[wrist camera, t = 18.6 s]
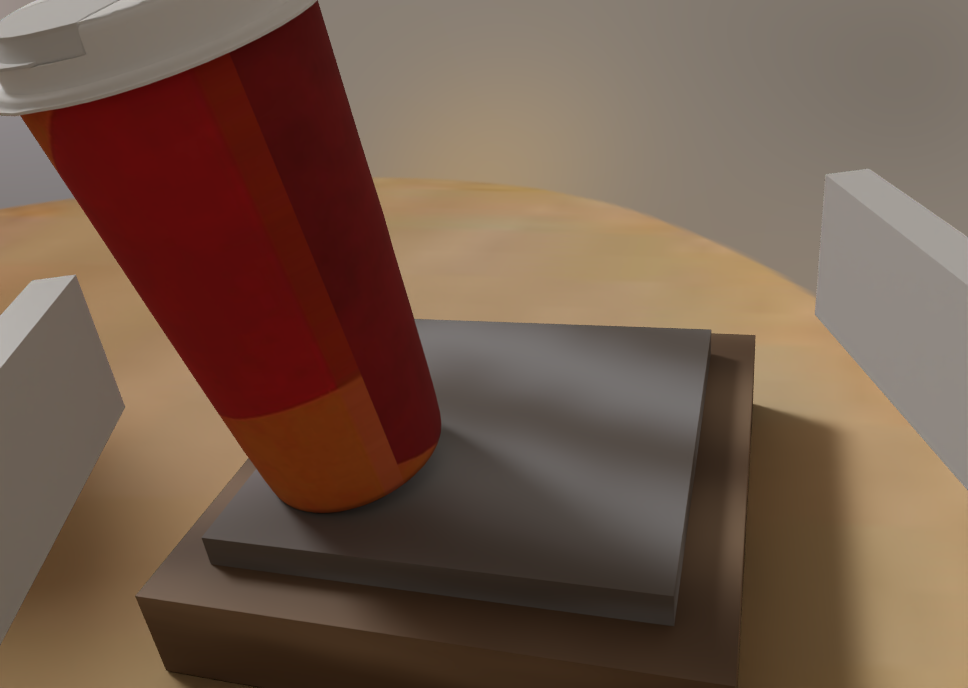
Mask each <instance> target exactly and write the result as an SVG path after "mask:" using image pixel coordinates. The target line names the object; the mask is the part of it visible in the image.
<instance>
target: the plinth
mask: <svg viewBox="0 0 968 688" xmlns="http://www.w3.org/2000/svg"><path fill="white" fill-rule="evenodd" d="M414 320H415V323H416V327H417V330H418V334H419V337H420V340H421V344H422V347H423V351H424V354H425V357H426V361H427V364H428V368H429V371H430V375H431V379H432V382H433V386H434V390H435V393H436V397H437V401H438V406H439V410H440V415H441V434H440V438H439V441H438V444H437V446H436V448H435V450H434V452H433V454H432V455H431V457H430V458H429V460H428V461H427V462H426V464H425V465H424V466H423V467H422V468H421V469H420V470H419V471H418V472H417V473H416V474H415V475H414V476H413V477H412V478H411V479H410V480H408V481H407V482H406V483H405V484H403V485H402V486H400V487H399V488H398V489H396V490H394V491H393V492H391V493H390V494H388V495H386V496H384V497H382V498H380V499H378V500H376V501H374V502H371V503H369V504H366V505H364V506H360V507H357V508H354V509H350V510H345V511H340V512H332V513H313V512H306V511H302V510H298V509H295V508H293V507H291V506H289V505H287V504H286V503H284V502H283V501H282V500H281V499H280V498H279V497H278V496H277V495H276V494H275V493H274V492H273V491H272V489H271V488H270V487H269V485H268V484H267V483H266V482H265V480H264V479H263V478H262V476H261V475H260V473H259V472H258V470H257V469H256V468H255V466H254V465H253V463H252V462H251V460H250V459H249V458H248V459H247V461H246V462H245V463H244V464H243V466H242V467H241V468H240V469H239V470H238V472H237V473H236V474H235V475H234V476H233V478H232V479H231V480H230V481H229V483H228V484H227V485H226V486H225V487H224V489H223V490H222V491H221V492H220V494H219V495H218V496H217V497H216V498H215V500H214V501H213V502H212V503H211V504H210V506H209V507H208V508H207V509H206V511H205V512H204V513H203V514H202V515H201V517H200V518H199V519H198V520H197V521H196V523H195V524H194V525H193V526H192V528H191V529H190V530H189V531H188V532H187V534H186V535H185V536H184V537H183V539H182V540H181V541H180V542H179V543H178V545H177V546H176V547H175V548H174V549H173V551H172V552H171V553H170V554H169V556H168V557H167V558H166V559H165V560H164V562H163V563H162V564H161V565H160V566H159V568H158V569H157V570H156V571H155V573H154V574H153V575H152V576H151V577H150V579H149V580H148V581H147V582H146V584H145V585H144V586H143V587H142V588H141V590H140V591H139V592H138V593H137V594H136V596H135V597H136V599H137V601H138V604H139V606H140V609H141V611H142V613H143V616H144V618H145V621H146V623H147V625H148V628H149V630H150V632H151V635H152V637H153V640H154V642H155V644H156V647H157V649H158V652H159V654H160V656H161V659H162V661H163V664H164V666H165V668H166V671H172V672H177V673H183V674H188V675H194V676H200V677H205V678H211V679H216V680H222V681H228V682H233V683H239V684H244V685H250V686H256V687H261V688H737V683H738V665H739V647H740V628H741V610H742V592H743V573H744V555H745V537H746V518H747V500H748V482H749V463H750V445H751V427H752V409H753V385H754V360H755V335H738V334H711V330H706V329H678V328H650V327H622V326H594V325H566V324H538V323H510V322H482V321H454V320H426V319H414Z"/></svg>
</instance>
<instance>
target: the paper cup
mask: <svg viewBox="0 0 968 688" xmlns="http://www.w3.org/2000/svg"><path fill="white" fill-rule="evenodd" d="M0 115H1V116H19V115H20V116H21V117H22V119H23V121H24V122H25V123H26V125H27V127H28V128H29V130H30V131H31V133H32V134H33V136H34V137H35V139H36V140H37V141H38V143H39V144H40V146H41V147H42V149H43V151H44V152H45V154H46V155H47V157H48V158H49V160H50V161H51V163H52V164H53V166H54V167H55V169H56V170H57V172H58V173H59V175H60V176H61V178H62V179H63V181H64V182H65V184H66V185H67V187H68V188H69V190H70V191H71V193H72V194H73V196H74V197H75V199H76V200H77V202H78V203H79V205H80V206H81V208H82V209H83V211H84V212H85V214H86V215H87V217H88V218H89V220H90V221H91V223H92V224H93V226H94V227H95V229H96V230H97V232H98V233H99V235H100V236H101V238H102V239H103V241H104V242H105V244H106V245H107V247H108V248H109V250H110V252H111V253H112V255H113V256H114V258H115V259H116V261H117V262H118V264H119V265H120V267H121V268H122V270H123V271H124V273H125V274H126V276H127V277H128V279H129V280H130V282H131V283H132V285H133V286H134V288H135V289H136V291H137V292H138V294H139V295H140V297H141V298H142V300H143V301H144V303H145V304H146V306H147V307H148V309H149V310H150V312H151V313H152V315H153V316H154V318H155V319H156V321H157V322H158V324H159V325H160V327H161V328H162V330H163V331H164V333H165V334H166V336H167V337H168V339H169V340H170V342H171V343H172V345H173V346H174V348H175V349H176V351H177V352H178V354H179V355H180V357H181V358H182V360H183V361H184V363H185V364H186V366H187V367H188V369H189V370H190V372H191V373H192V375H193V376H194V378H195V379H196V381H197V382H198V384H199V385H200V387H201V388H202V390H203V391H204V393H205V394H206V396H207V397H208V399H209V400H210V402H211V403H212V405H213V406H214V408H215V409H216V411H217V412H218V414H219V415H220V416H221V418H222V419H223V421H224V422H225V424H226V425H227V427H228V428H229V430H230V431H231V433H232V434H233V436H234V437H235V439H236V440H237V442H238V443H239V445H240V446H241V448H242V449H243V450H244V452H245V453H246V455H247V456H248V458H249V459H250V460H251V462H252V463H253V465H254V466H255V468H256V469H257V470H258V472H259V473H260V475H261V476H262V478H263V479H264V480H265V482H266V483H267V484H268V485H269V487H270V488H271V489H272V491H273V492H274V493H275V494H276V495H277V496H278V497H279V498H280V499H281V500H282V501H283V502H284V503H286V504H287V505H289V506H291V507H293V508H295V509H298V510H302V511H306V512H313V513H332V512H340V511H345V510H350V509H354V508H357V507H360V506H364V505H366V504H369V503H371V502H374V501H376V500H378V499H380V498H382V497H384V496H386V495H388V494H390V493H391V492H393V491H394V490H396V489H398V488H399V487H400V486H402V485H403V484H405V483H406V482H407V481H408V480H410V479H411V478H412V477H413V476H414V475H415V474H416V473H417V472H418V471H419V470H420V469H421V468H422V467H423V466H424V465H425V464H426V462H427V461H428V460H429V458H430V457H431V455H432V454H433V452H434V450H435V448H436V446H437V444H438V441H439V438H440V434H441V415H440V410H439V406H438V401H437V397H436V393H435V390H434V386H433V382H432V379H431V375H430V371H429V368H428V364H427V361H426V357H425V354H424V351H423V347H422V344H421V340H420V337H419V334H418V330H417V327H416V323H415V320H414V317H413V313H412V310H411V307H410V303H409V300H408V297H407V293H406V290H405V287H404V283H403V280H402V277H401V273H400V270H399V267H398V263H397V260H396V257H395V253H394V250H393V247H392V243H391V239H390V236H389V232H388V229H387V225H386V221H385V218H384V214H383V211H382V208H381V205H380V202H379V199H378V195H377V192H376V189H375V186H374V183H373V180H372V176H371V174H370V170H369V167H368V164H367V161H366V157H365V154H364V151H363V148H362V145H361V141H360V138H359V135H358V132H357V129H356V125H355V122H354V119H353V116H352V112H351V109H350V105H349V102H348V99H347V95H346V93H345V89H344V86H343V82H342V79H341V76H340V72H339V69H338V66H337V63H336V59H335V56H334V53H333V49H332V46H331V43H330V40H329V36H328V33H327V30H326V26H325V23H324V20H323V17H322V13H321V10H320V7H319V3H318V0H36V1H34V2H32V3H30V4H28V5H26V6H23V7H22V8H20V9H18V10H16V11H14V12H12V13H11V14H9V15H8V16H6V17H4V18H3V19H1V20H0Z"/></svg>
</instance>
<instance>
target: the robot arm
mask: <svg viewBox="0 0 968 688" xmlns="http://www.w3.org/2000/svg"><path fill="white" fill-rule="evenodd" d="M815 315H816V316H817V317H818V319H819V320H820V321H821V322H822V323H823V324H824V326H825V327H826V328H827V329H828V330H829V331H830V332H831V334H832V335H833V336H834V337H835V338H836V339H837V341H838V342H839V343H840V344H841V345H842V346H843V347H844V349H845V350H846V351H847V352H848V353H849V354H850V355H851V357H852V358H853V359H854V360H855V361H856V362H857V364H858V365H859V366H860V367H861V368H862V369H863V370H864V372H865V373H866V374H867V375H868V376H869V377H870V378H871V380H872V381H873V382H874V383H875V384H876V385H877V387H878V388H879V389H880V390H881V391H882V392H883V393H884V395H885V396H886V397H887V398H888V399H889V400H890V402H891V403H892V404H893V405H894V406H895V407H896V408H897V410H898V411H899V412H900V413H901V414H902V415H903V416H904V418H905V419H906V420H907V421H908V422H909V423H910V425H911V426H912V427H913V428H914V429H915V430H916V431H917V433H918V434H919V435H920V436H921V437H922V438H923V439H924V441H925V442H926V443H927V444H928V445H929V446H930V448H931V449H932V450H933V451H934V452H935V453H936V454H937V456H938V457H939V458H940V459H941V460H942V461H943V463H944V464H945V465H946V466H947V467H948V468H949V469H950V471H951V472H952V473H953V474H954V475H955V476H956V477H957V479H958V480H959V481H960V482H961V483H962V484H963V486H964V487H965V488H966V489H967V490H968V237H967V236H966V235H964V234H963V233H961V232H960V231H958V230H957V229H955V228H954V227H953V226H951V225H950V224H948V223H947V222H945V221H944V220H942V219H941V218H939V217H938V216H937V215H935V214H934V213H932V212H931V211H929V210H928V209H927V208H925V207H924V206H922V205H921V204H919V203H918V202H916V201H915V200H914V199H912V198H911V197H909V196H908V195H906V194H905V193H903V192H902V191H901V190H899V189H898V188H896V187H895V186H893V185H892V184H890V183H889V182H887V181H886V180H885V179H883V178H882V177H880V176H879V175H877V174H876V173H875V172H873V171H871V170H870V169H863V170H855V171H848V172H840V173H833V174H826V175H825V187H824V200H823V213H822V226H821V240H820V253H819V267H818V281H817V293H816V306H815ZM124 408H125V405H124V403H123V400H122V397H121V395H120V392H119V389H118V386H117V384H116V381H115V378H114V376H113V373H112V370H111V368H110V365H109V362H108V360H107V357H106V354H105V352H104V349H103V346H102V344H101V341H100V338H99V336H98V333H97V330H96V328H95V325H94V322H93V320H92V317H91V314H90V312H89V309H88V306H87V304H86V301H85V298H84V295H83V293H82V290H81V287H80V285H79V282H78V279H77V277H76V275H70V276H62V277H55V278H47V279H40V280H32V281H31V282H30V283H29V284H28V285H27V287H26V288H25V289H24V290H23V291H22V292H21V293H20V294H19V295H18V297H17V298H16V299H15V300H14V301H13V302H12V303H11V304H10V305H9V307H8V308H7V309H6V310H5V311H4V312H3V313H2V314H1V315H0V645H1V643H2V641H3V639H4V637H5V635H6V633H7V631H8V629H9V628H10V626H11V624H12V622H13V620H14V618H15V616H16V614H17V612H18V610H19V609H20V607H21V605H22V603H23V601H24V599H25V597H26V595H27V593H28V591H29V589H30V588H31V586H32V584H33V582H34V580H35V578H36V576H37V574H38V572H39V570H40V568H41V567H42V565H43V563H44V561H45V559H46V557H47V555H48V553H49V551H50V549H51V548H52V546H53V544H54V542H55V540H56V538H57V536H58V534H59V532H60V530H61V528H62V527H63V525H64V523H65V521H66V519H67V517H68V515H69V513H70V511H71V509H72V507H73V506H74V504H75V502H76V500H77V498H78V496H79V494H80V492H81V490H82V488H83V487H84V485H85V483H86V481H87V479H88V477H89V475H90V473H91V471H92V469H93V467H94V466H95V464H96V462H97V460H98V458H99V456H100V454H101V452H102V450H103V448H104V446H105V445H106V443H107V441H108V439H109V437H110V435H111V433H112V431H113V429H114V427H115V426H116V424H117V422H118V420H119V418H120V416H121V414H122V412H123V410H124Z"/></svg>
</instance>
